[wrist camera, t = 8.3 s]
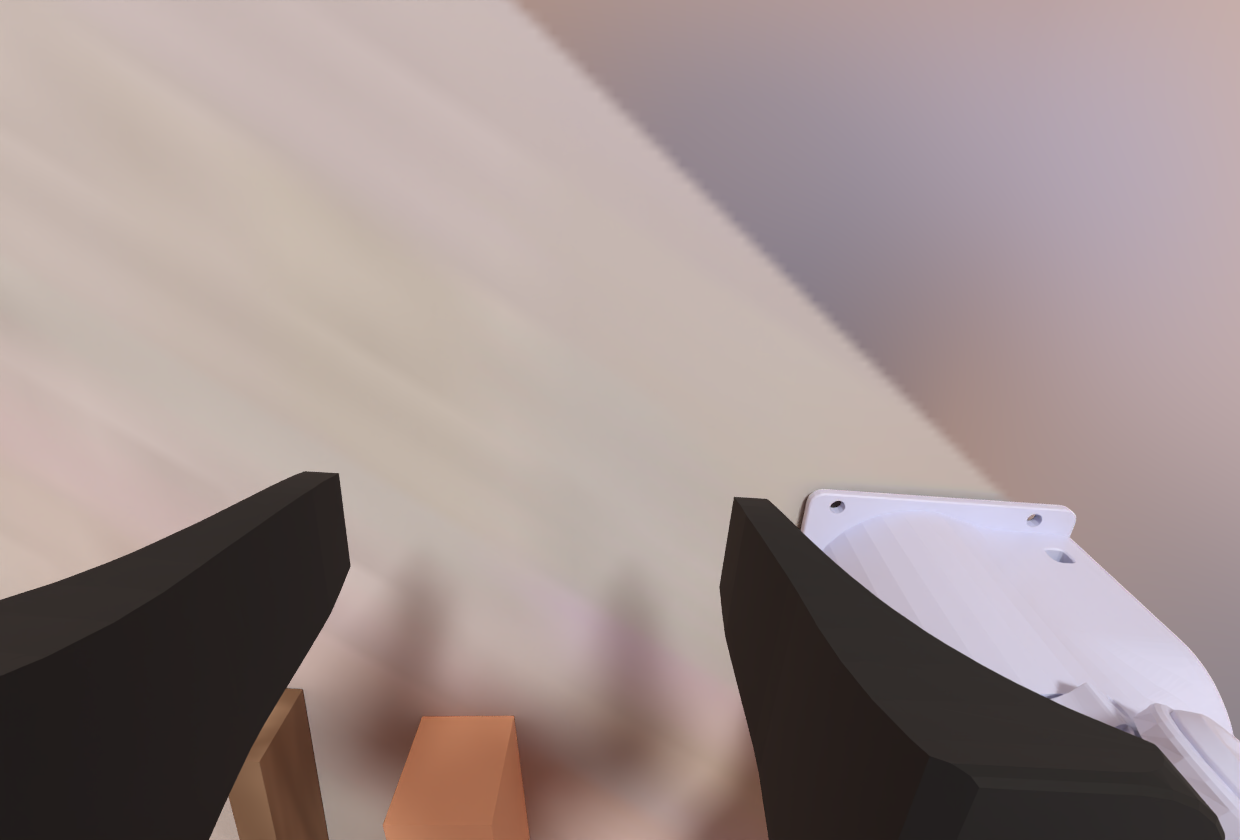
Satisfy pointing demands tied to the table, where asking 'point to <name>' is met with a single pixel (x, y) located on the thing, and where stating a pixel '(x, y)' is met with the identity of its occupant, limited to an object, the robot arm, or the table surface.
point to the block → (460, 782)
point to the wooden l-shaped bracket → (280, 779)
